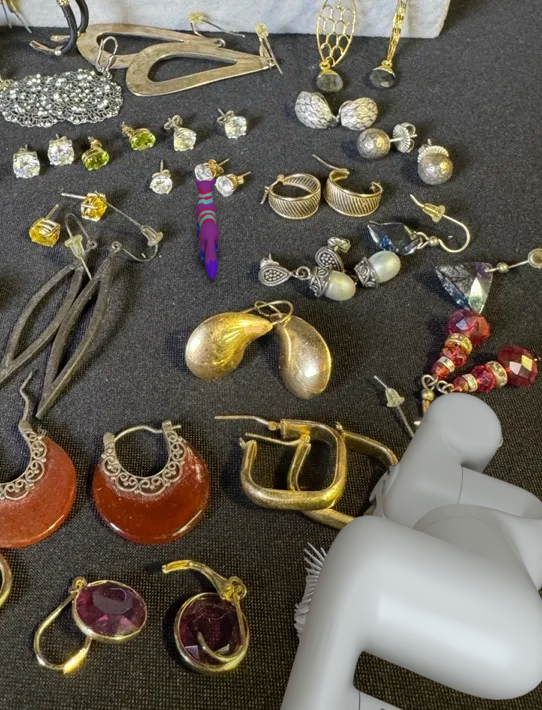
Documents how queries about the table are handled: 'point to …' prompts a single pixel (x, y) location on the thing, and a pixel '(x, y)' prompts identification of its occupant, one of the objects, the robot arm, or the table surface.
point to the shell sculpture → (308, 591)
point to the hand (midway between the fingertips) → (396, 540)
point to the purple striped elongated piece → (207, 226)
